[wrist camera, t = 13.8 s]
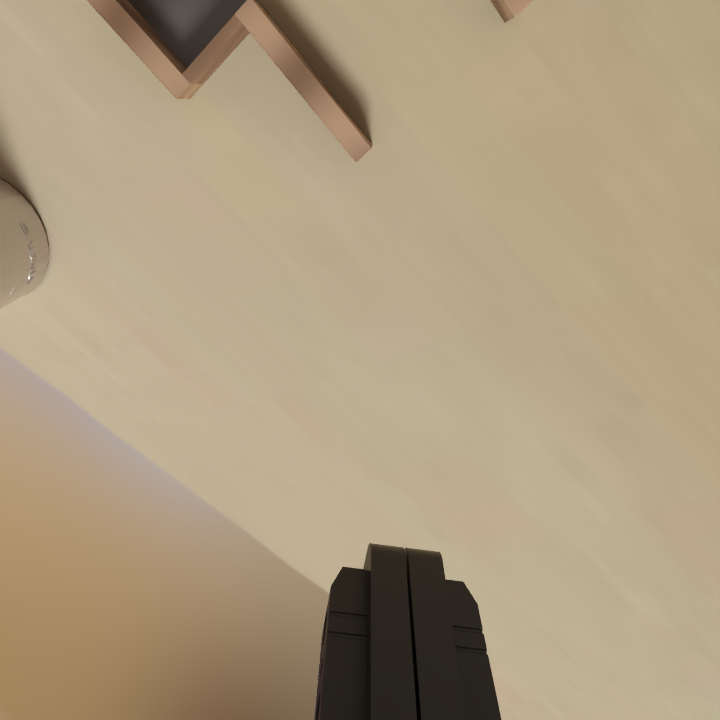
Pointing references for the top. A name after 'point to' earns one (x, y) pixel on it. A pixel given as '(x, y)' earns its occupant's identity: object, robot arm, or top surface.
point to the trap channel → (229, 49)
